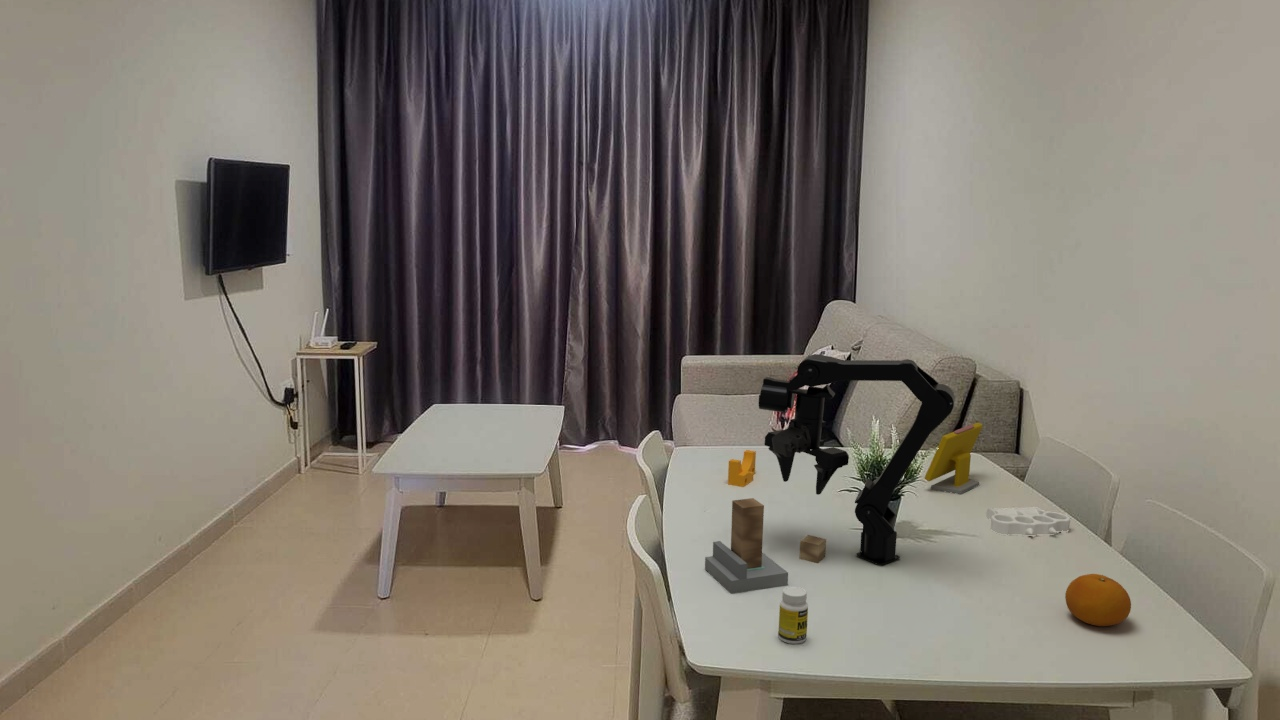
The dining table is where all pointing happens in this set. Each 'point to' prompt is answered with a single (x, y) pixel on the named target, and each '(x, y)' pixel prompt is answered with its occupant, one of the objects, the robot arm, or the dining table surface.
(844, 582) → the dining table surface
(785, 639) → the supplement bottle
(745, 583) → the base slab
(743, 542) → the walnut pillar
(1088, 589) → the fruit
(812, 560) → the oak block
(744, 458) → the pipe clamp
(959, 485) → the yellow framed monitor
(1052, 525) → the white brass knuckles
